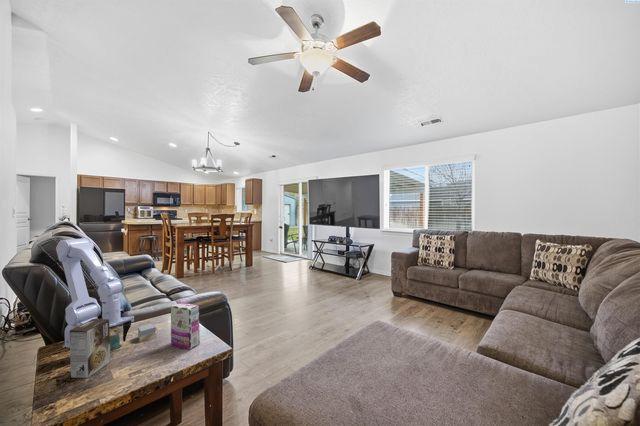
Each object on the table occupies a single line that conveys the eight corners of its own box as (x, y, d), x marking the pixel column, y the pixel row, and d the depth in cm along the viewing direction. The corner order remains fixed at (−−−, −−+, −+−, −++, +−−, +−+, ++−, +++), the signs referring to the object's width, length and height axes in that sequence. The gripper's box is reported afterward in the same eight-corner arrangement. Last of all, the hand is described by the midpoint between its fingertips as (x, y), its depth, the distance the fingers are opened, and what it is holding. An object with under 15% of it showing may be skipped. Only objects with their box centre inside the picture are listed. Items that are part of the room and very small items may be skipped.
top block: (140, 337, 108) (140, 331, 108) (138, 332, 112) (138, 327, 112) (155, 332, 112) (155, 327, 112) (153, 328, 116) (152, 322, 116)
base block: (140, 343, 108) (140, 337, 108) (138, 338, 112) (137, 332, 112) (156, 338, 112) (156, 332, 112) (154, 333, 116) (154, 328, 116)
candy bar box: (200, 344, 106) (199, 305, 106) (190, 350, 102) (189, 309, 101) (181, 339, 110) (180, 301, 110) (170, 344, 106) (169, 305, 106)
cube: (105, 352, 100) (104, 341, 100) (104, 348, 104) (104, 337, 104) (119, 348, 103) (119, 337, 103) (118, 344, 107) (118, 333, 107)
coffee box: (94, 361, 95) (93, 318, 94) (111, 361, 94) (110, 318, 94) (69, 377, 86) (68, 330, 85) (88, 378, 85) (87, 330, 85)
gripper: (87, 319, 96) (87, 355, 96) (134, 308, 105) (135, 341, 105) (87, 313, 101) (88, 347, 101) (132, 304, 110) (133, 335, 111)
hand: (112, 344), depth 104 cm, fingers open, 7 cm apart
